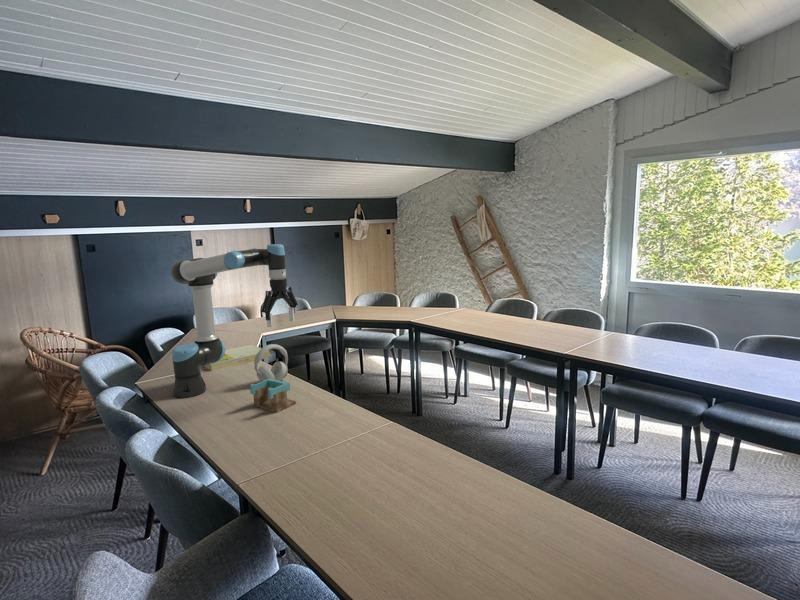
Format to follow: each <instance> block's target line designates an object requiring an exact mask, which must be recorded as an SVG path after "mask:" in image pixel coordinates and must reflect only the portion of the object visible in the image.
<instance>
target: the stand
mask: <svg viewBox="0 0 800 600" xmlns="http://www.w3.org/2000/svg"><path fill="white" fill-rule="evenodd" d="M277 387H278V386H277ZM268 389H270V388H269V386H265V387H263V388H261V389H258V390H256V391H255V392H256V393H255V394H252V395H253V396H252V397H253V407H256V408H259V407H260V408H259V409H263V408H264V409H263V410H267V409H268V410H267V411H270V410H271V412H274V411H275V412H274V413H280V412H281V410H282V411H283V409H284V410H287V409H288V408H290V407H292V406H295V405H296V404H297V402H296V400H292V399H288V393H287V392H288V391H287V390H284V391H282V392H279V393H277V394H275V395H273V396H274V398H272V399H270V398H268ZM287 407H288V408H287ZM279 411H280V412H279Z"/></svg>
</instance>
